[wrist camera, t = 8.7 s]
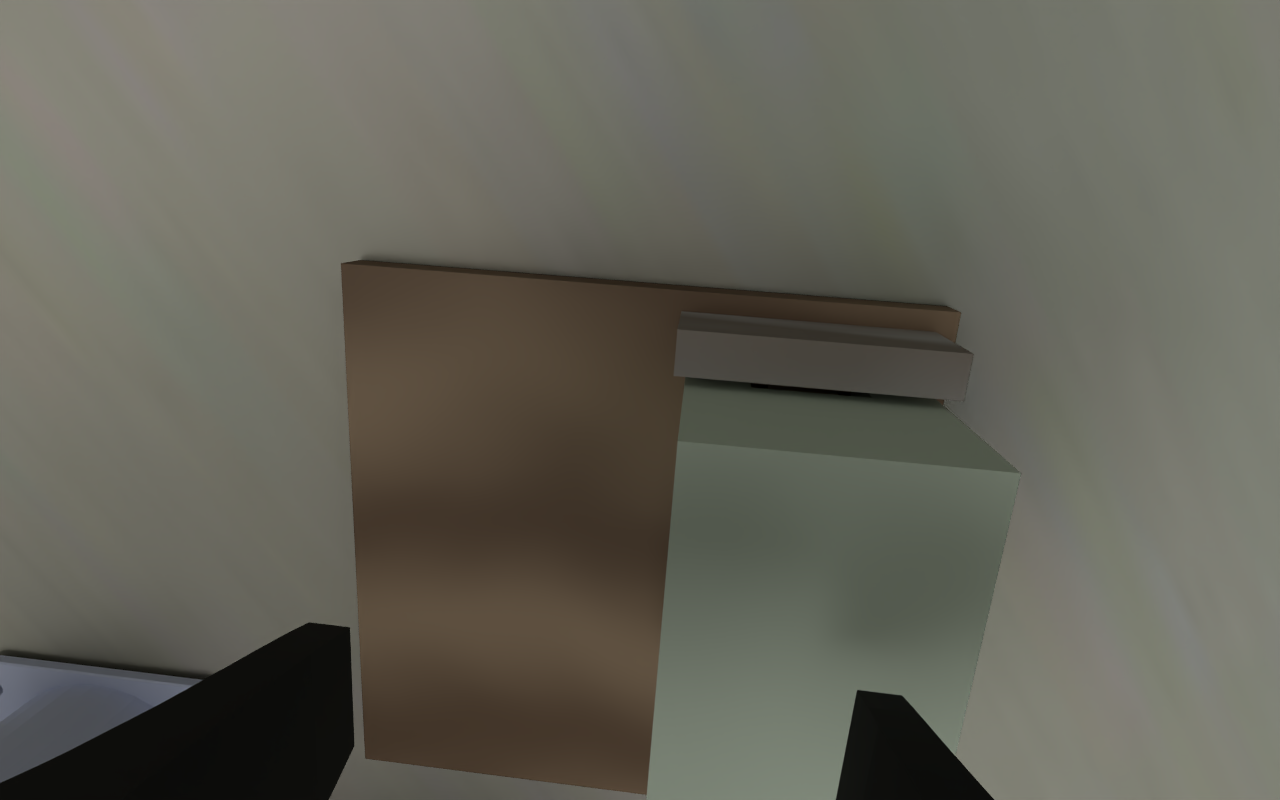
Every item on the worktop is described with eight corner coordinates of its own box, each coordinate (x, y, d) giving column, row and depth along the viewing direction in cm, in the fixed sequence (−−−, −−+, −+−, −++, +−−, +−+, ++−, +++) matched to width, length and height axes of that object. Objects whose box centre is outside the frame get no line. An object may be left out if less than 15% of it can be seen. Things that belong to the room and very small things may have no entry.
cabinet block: (863, 664, 19) (930, 863, 14) (662, 642, 20) (644, 825, 14) (915, 380, 17) (1021, 473, 11) (687, 361, 17) (677, 441, 12)
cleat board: (855, 794, 22) (882, 903, 18) (379, 735, 23) (323, 827, 19) (947, 306, 17) (1004, 331, 14) (359, 259, 18) (283, 273, 15)
